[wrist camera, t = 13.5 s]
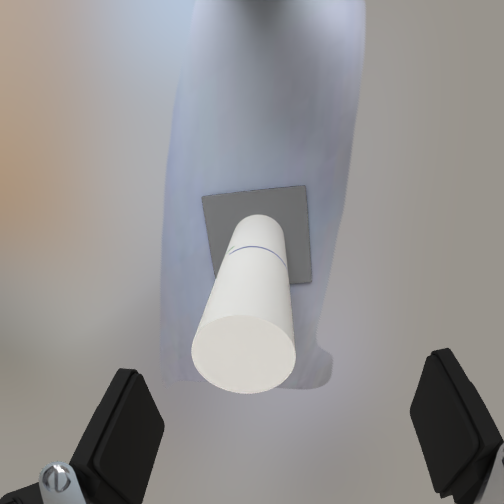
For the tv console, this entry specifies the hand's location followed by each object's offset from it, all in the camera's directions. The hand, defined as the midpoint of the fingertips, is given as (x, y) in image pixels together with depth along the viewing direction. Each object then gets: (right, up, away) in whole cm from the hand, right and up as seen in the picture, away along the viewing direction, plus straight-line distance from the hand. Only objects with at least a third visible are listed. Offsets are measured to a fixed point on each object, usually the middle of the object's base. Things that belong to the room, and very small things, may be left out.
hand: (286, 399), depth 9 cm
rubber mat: (0, +6, +36) cm, 36 cm away
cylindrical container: (0, +6, +35) cm, 36 cm away
